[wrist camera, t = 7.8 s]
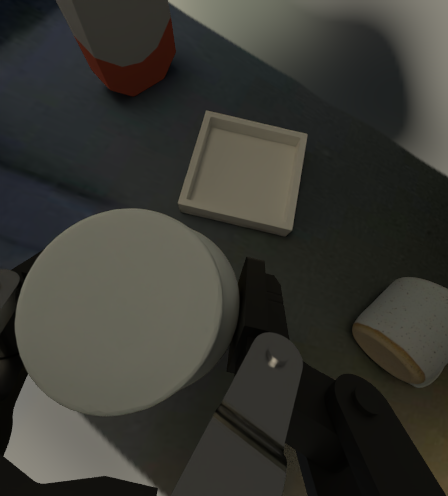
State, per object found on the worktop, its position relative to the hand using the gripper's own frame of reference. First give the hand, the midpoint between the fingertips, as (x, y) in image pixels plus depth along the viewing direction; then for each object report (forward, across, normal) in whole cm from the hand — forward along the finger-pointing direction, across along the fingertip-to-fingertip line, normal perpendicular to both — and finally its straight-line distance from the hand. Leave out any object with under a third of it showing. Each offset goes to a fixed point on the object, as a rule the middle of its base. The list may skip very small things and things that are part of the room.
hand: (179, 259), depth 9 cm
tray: (+23, -2, +1) cm, 23 cm away
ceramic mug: (+12, -23, +12) cm, 29 cm away
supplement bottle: (+2, 0, +5) cm, 5 cm away
